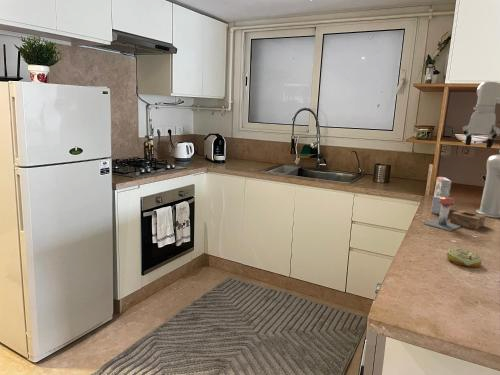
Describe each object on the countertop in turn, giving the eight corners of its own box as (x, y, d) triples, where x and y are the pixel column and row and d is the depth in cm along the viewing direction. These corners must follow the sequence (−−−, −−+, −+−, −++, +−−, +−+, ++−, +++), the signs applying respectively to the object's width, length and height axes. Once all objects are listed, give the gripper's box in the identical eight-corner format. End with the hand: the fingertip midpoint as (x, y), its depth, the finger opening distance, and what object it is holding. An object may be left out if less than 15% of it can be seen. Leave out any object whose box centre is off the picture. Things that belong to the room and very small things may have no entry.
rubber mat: (434, 220, 183) (434, 219, 183) (461, 226, 175) (461, 225, 175) (423, 224, 175) (423, 223, 175) (450, 231, 167) (450, 230, 167)
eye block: (458, 219, 187) (460, 209, 186) (483, 225, 179) (485, 215, 178) (449, 223, 180) (451, 213, 179) (475, 229, 172) (477, 219, 171)
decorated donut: (471, 271, 126) (473, 260, 125) (440, 259, 134) (441, 249, 133) (486, 265, 132) (488, 255, 131) (455, 254, 140) (457, 244, 139)
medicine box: (447, 213, 196) (450, 197, 195) (447, 216, 192) (450, 199, 191) (430, 211, 200) (433, 195, 198) (430, 213, 196) (433, 197, 194)
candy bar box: (431, 205, 213) (436, 176, 210) (441, 206, 212) (446, 177, 209) (437, 210, 203) (442, 180, 199) (447, 211, 202) (452, 181, 198)
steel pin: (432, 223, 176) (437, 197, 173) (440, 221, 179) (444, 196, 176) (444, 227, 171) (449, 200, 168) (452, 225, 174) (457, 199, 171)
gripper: (462, 108, 181) (455, 144, 185) (500, 110, 167) (493, 148, 170) (470, 109, 185) (464, 144, 189) (509, 110, 171) (501, 148, 174)
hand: (478, 146), depth 179 cm, fingers open, 9 cm apart
